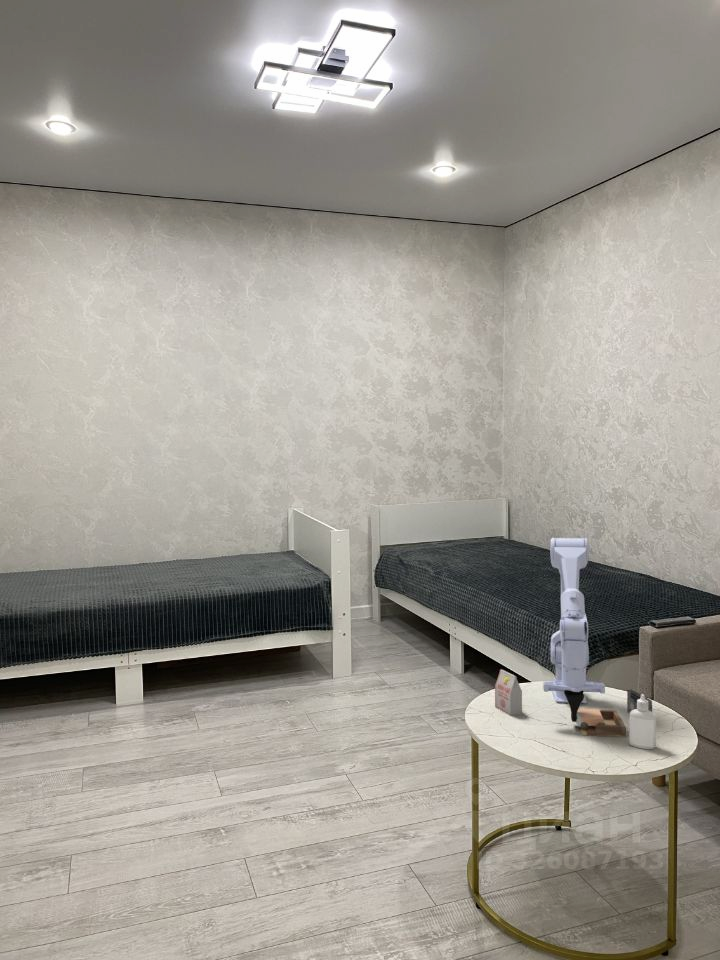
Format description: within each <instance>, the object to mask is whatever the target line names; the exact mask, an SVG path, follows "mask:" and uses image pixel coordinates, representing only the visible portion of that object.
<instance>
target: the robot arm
mask: <svg viewBox="0 0 720 960" xmlns="http://www.w3.org/2000/svg"><path fill="white" fill-rule="evenodd" d="M589 543H590V542H589V539H588V538H586V537H583V538H581V537H580V538H578V537H577V538H573V537H571V538H569V537H552V538H551V539H550V544H549V545H550V551H549V552H550V564H551V567H552V568H555V569H558V573H559V574H560V620H559V630H557V631H556V632H554V633H553V634H552V635H551V637H550V663H552V665H555V666H554V667H555V680H551V681H543V682H542V686H543V687H542V689H543V692H546V693H548V692H552V694H553V697H554V699H555V702H556V703H561V704H562V703H568V705H569V709H570V719H571V721H572V722H573V723H577V722H576V715H577V711H578V709H580V707H581V704H587V703H588V701H587V698H586V697H585V693H600V694H606V685H605V684H604V683H602V682H594V681H587V677H586V676H587V666H588V664H589V661H590V658H589V656H590V655H589V654H590V652H589V651H590V650H589V641H588V639H589V623H588V619H587V614H586V611H585V609H586V608H585V607H586V605H585V595H584V594H583V593H582V591H580V589H579V588H580V570H581V569H584V568H586V567H587V565H588V561H589V559H590V544H589Z"/></svg>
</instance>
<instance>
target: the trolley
mask: <svg viewBox="0 0 720 960" xmlns="http://www.w3.org/2000/svg"><path fill="white" fill-rule="evenodd" d="M600 710H601V709H595V708H594V709H590V708H589V709H588V708H586V709H585V708H584V709H583V708H579V709H578V711H577V715H576V722H575V723H576V725H577V727H579V729H580V728H581V729H583V730H585V729H587V728H588V727H589V726H595V725H605V723H604V719H603V717H602V715H601V713H600ZM581 729H580V730H581Z"/></svg>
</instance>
